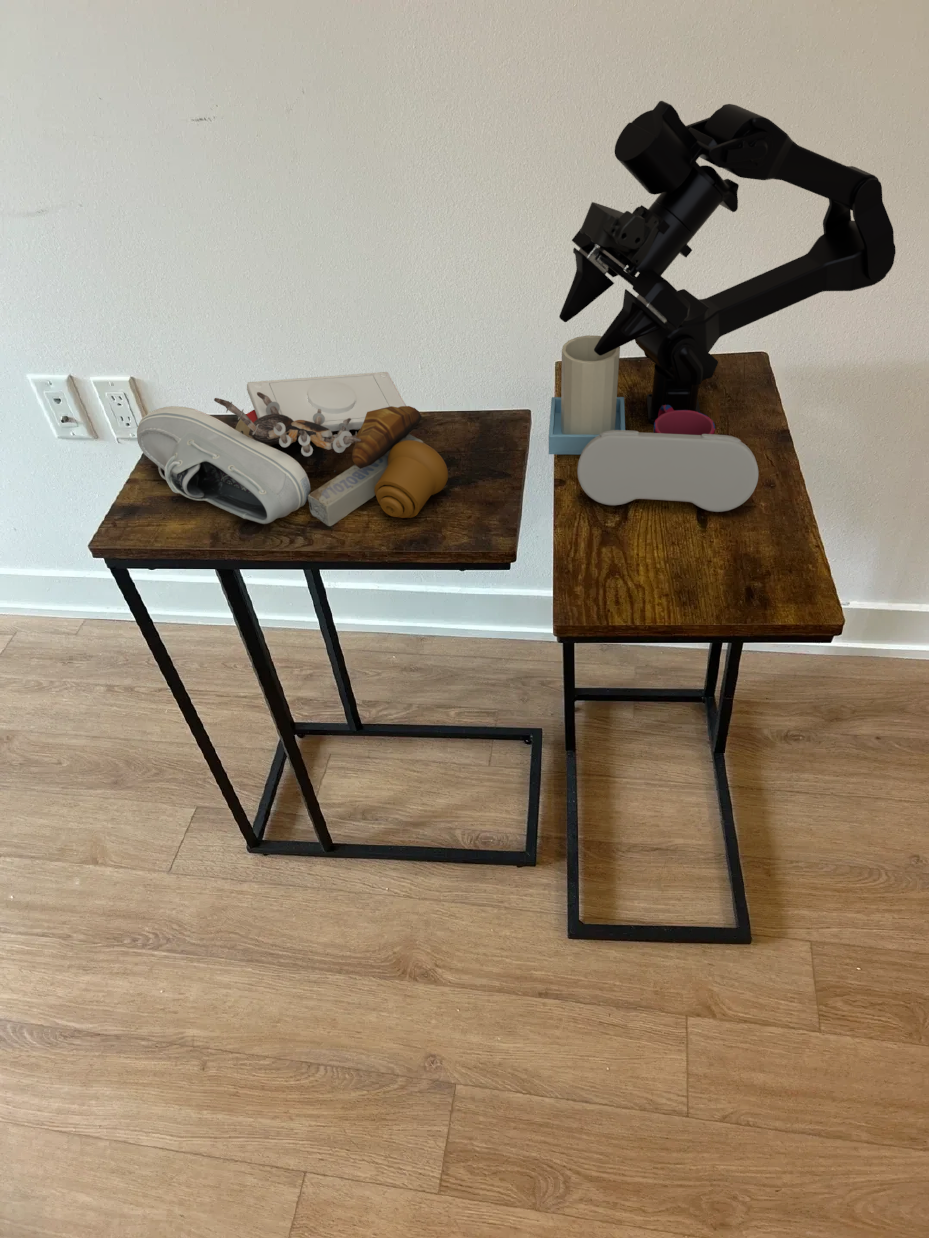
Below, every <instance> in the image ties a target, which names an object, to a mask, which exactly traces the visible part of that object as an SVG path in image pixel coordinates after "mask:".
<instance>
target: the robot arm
mask: <svg viewBox="0 0 929 1238" xmlns="http://www.w3.org/2000/svg"><path fill="white" fill-rule="evenodd" d="M714 111H715V112H714V113H712V115H710V116H709V117H706V118H703V119H701V120H698V121H695V122H693V123H690V124H687V125H686V124H685V123H684V122H683V121H682V120H681V118H680V115H679V112H678V111H677V110H676V109H675V107H674V106H673V105H672V104H671V103H668V102H666V101H663V100H659V101H658V103H656V105H655V107H654V108H653V109H649V110H648V111H645V112H643V113H641V114H640V115H638V116H637V117H636V118H634V119H633V120H632V121H631V122H628V123H627V124H626V125H625V126H624V127H623V129H622V130H621V132H620V134H619V136H617V137H618V138H617V139H616V143H615V144H614V145H615V146H614V156H615V158H616V159H617V161H618V162H619V163H621V165H622V166H623V167H624V168H625V169H626V170H627V171H628V173H629V174H631V176H633V178H634V179H635V180H636V181H637V182H638V183H639V184H640V185H641V186H642V187H643V188H644V190H645V191H646V192H647V193H649V195H658V196H657V197H656V199H655V200H654V201H653V202H652V204H651V205H650V206H649V208H647V207H645V206H644V205H642V204H641V205H640V206H636V208H635V209H634V210H633V211H632V212H631V211H629V210H626V211H624V212H623V211H621V210H618V209H615V208H612V207H609V206H606V205H603V204H600V203H597V202H595V201H592V202H591V204H590V206H589V208H588V210H587V213H586V216H585V218H584V220H583V222H582V226H581V227H580V229H579V230H578V231H577V233H576V234H575V235H574V237H573V238H572V239H571V242H572V243H574V245H576V246H577V247H578V248H579V249H577V248H576V247H573V249H572V253H573V254H574V257H575V265H576V270H575V274H574V277H573V280H572V283H571V285H570V288H569V291H568V293H567V295H566V297H565V300H564V303H563V306H562V308H561V311H560V313H559V316H558V317H559V319H560V320H561V321H562V322H564V323H567V322H569V321H570V320H571V319H573V318H575V317H576V316H577V315H579V313H581V312H582V311H583V310H584V309H586V308H587V307H588V306H589V305H590V304H592V303H593V302H594V301H595V300H596V299H597V298H599V297H600V296H602V294H604V293H605V292H607V290H608V289H610V288H611V287H612V286H614V285H615V282H614V281H613V280H612V279H611V278H610V277H612V278H616V277H618V276H619V277H620V278H622V279H623V280H624V281H626V283H628V284H629V285H631V286H632V290H633V291H634V292H635V294H637V296H636V295H634V294H633V293H632V292H631V291H629V290H628V289H627V288H625V289H624V291H623V292H624V293H623V294H624V295H623V301H622V308H621V309H620V311H619V312H618V314H616V316H615V317H614V319H613V321H611V323H610V325H609V326H608V327H607V329H606V330H605V332H604V333H603V334H602V335H601V336H602V337H601V339H600V340H599V342H598V343H597V345H596V347H595V348H594V351H595V352H596V353H597V354H598V355H599V356H601V355H603V354H605V353H608V352H610V351H612V350H614V349H616V348H618V347H620V348H621V347H622V346H624V345H626V344H628V343H630V342H632V341H635V344H636V345H637V347H638V348H639V349H641V350H642V352H643V353H644V356H645V357H646V358H647V359H649V360H650V361H651V362H653V363H654V368H653V380H652V392H651V393H648V394H646V406H647V407H646V408H647V421H648V423H649V424H650V423H651V424H654V422H655V420H656V419H657V418H658V413H659V410H660V407H661V406H663V405H670V406H671V407H672V408H673V410H674V411H675V410H691V411H696V412H699V413H701V410H700V403H699V402H700V401H699V388H700V385H701V384H702V382H703V381H704V380H709V379H712V377H713V376H714V374H715V371H716V369H717V368H718V365H719V360H718V359H716V358H715V357H714V356H713V355H712V354H711V353H710V351H712V349H713V347H714V346H715V345H716V344H717V342H718V340H719V339H720V338H721V337H723V336H725V335H727V334H730V333H732V332H734V331H737V330H740V329H741V328H743V327H745V326H748V325H750V324H752V323H754V322H757V321H760V320H761V319H763V318H766V317H768V316H771V315H772V314H775V313H778V312H779V311H781V310H784V309H786V308H788V307H791V306H793V305H795V304H798V303H799V302H802V301H804V300H807V299H808V298H811V297H814V296H816V295H818V294H820V293H824V292H853V291H857V290H861V289H865V288H868V287H872V286H874V285H877V284H878V283H880V282H881V281H883V280H884V279H885V278H886V277H887V275H888V274H889V272H890V271H891V270H892V268H893V266H894V264H895V257H896V251H897V249H896V244H895V236H894V227H893V225H892V222H891V220H890V217H889V214H888V211H887V210H886V206H885V204H884V202H883V201H884V200H883V186H882V182H881V181H880V180H879V178H878V177H877V176H876V175H875V174H873V173H871V172H867V171H866V170H863V169H862V168H858V167H856V166H855V165H854V166H853V165H846V164H843V163H841V162H838V161H836V160H833V159H832V158H829V157H827V156H824V155H822V154H819V153H817V152H814V151H813V150H811V149H807V148H805V147H803V146H801V145H799V144H797V143H796V142H795V141H794V140H793V139H792V138H791V137H790V136H789V134H788V132H785V131H784V130H783V129H782V128H780V127H779V126H778V125H777V124H776V123H775V122H773V121H772V120H770V119H769V118H767V117H765V116H763V115H760V114H758V113H756V112H754V111H751V110H749V109H746V108H744V107H742V106H739V105H737V104H733V103H727V104H722V106H721V107H720V108H718V109H717V110H714ZM699 158H700V159H702V160H704V161H706V162H708V163H710V164H712V165H713V166H716V167H717V168H720V169H722V170H725V171H726V172H728V173H731V174H733V175H735V176H736V177H738V178H741V179H742V178H743V179H748V180H749V179H750V180H757V181H769V180H770V181H771V180H777V181H778V180H779V181H782V182H785V183H788V184H790V185H793V186H796V187H798V188H800V189H803V190H806V191H808V192H809V193H810V192H811V193H813V194H816V195H818V196H821V197H823V198H826V199H827V200H828V207H827V209H826V212H825V215H824V217H823V220H822V230H823V233H822V234H821V235H820V236H819V237H818V238H816V240H815V242H814V243H813V245H812V246H811V247H810V249H809V251H808V252H807V253H805V254H804V255H801V256H799V257H797V258H795V259H793V260H790V261H788V262H785V263H783V264H781V265H779V266H776V267H774V268H772V269H769V270H768V271H767V270H766V271H765V272H762V273H760V274H758V275H756V276H754V277H752V278H748V279H747V280H744V281H742V282H740V283H738V284H735V285H733V286H731V287H729V288H726V289H724V290H722V291H719V292H717V293H715V294H713V295H710V296H707V297H705V298H697V297H696V296H695V295H693V294H692V293H691V292H689V291H688V290H686V289H685V288H682V289H679V290H678V289H676V288H675V287H674V286H673V285H672V284H671V283H670V282H669V281H668V280H667V279H666V278H664V277H663V276H662V275H663V274H664V273H665V271H666V270H667V269H668V268H669V267H670V265H671V264H672V263H673V262H674V261H675V260H676V258H677V257H678V256H679V254H680V255H681V256H682V257H684V258H687V257H688V256H689V255H690V254H691V252H693V249H692V248H691V246H689V245H688V244H689V243H690V241H692V239H693V238H694V237H695V235H696V234H697V233H698V232H699V231H700V229H701V228H702V227H703V225H704V224H705V223H706V222H707V221H708V220H709V218H710V217H711V216H712V215H713V213H714V212H715V211H716V210H717V209H718V207H719V206H721V207H723V208H725V209H727V210H728V211H730V212H732V213H736V212H737V211H738V209H739V198H738V193H739V192H738V190H739V186H740V185H739V183H737V182H736V181H734V180H732V179H730V178H722V177H721V175H720V174H719V173H718V172H717V170H716V169H715V168H714V167H712V166H710V165H707V164H706V165H705V164H704V165H700V164H699V163H698V162H697V161H698V160H699ZM852 217H853V220H852ZM606 274H608V275H609V276H610V277H608V276H607V275H606ZM636 275H637V276H636Z"/></svg>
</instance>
